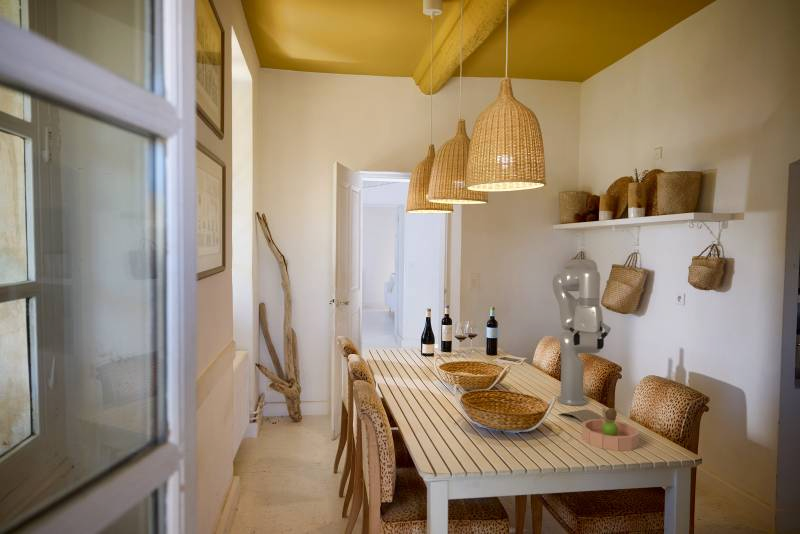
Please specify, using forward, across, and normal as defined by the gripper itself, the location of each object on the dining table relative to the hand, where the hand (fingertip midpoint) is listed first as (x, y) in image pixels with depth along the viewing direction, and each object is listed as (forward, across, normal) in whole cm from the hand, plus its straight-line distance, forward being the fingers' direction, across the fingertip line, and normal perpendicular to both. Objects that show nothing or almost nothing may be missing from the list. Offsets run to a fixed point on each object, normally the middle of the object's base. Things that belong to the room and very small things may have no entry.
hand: (588, 346), depth 193 cm
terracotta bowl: (+30, +14, -9) cm, 35 cm away
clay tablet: (+31, -5, +5) cm, 32 cm away
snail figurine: (+30, +14, -9) cm, 34 cm away
